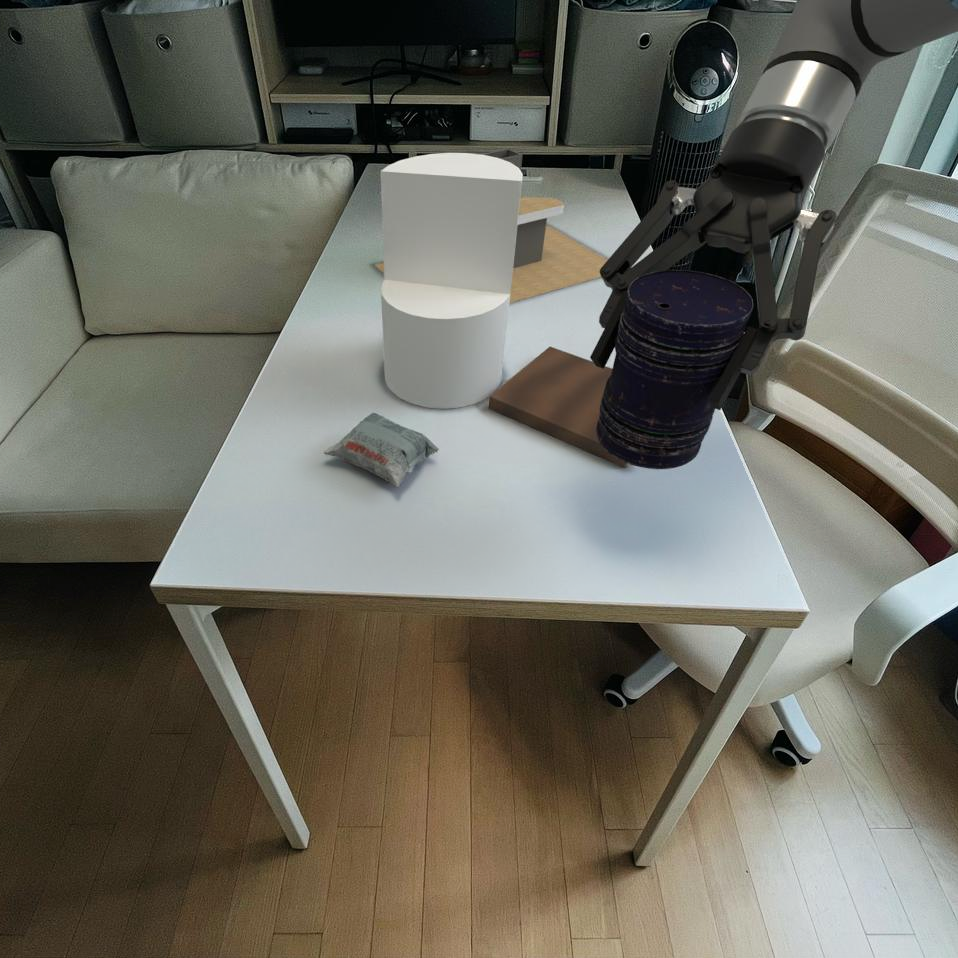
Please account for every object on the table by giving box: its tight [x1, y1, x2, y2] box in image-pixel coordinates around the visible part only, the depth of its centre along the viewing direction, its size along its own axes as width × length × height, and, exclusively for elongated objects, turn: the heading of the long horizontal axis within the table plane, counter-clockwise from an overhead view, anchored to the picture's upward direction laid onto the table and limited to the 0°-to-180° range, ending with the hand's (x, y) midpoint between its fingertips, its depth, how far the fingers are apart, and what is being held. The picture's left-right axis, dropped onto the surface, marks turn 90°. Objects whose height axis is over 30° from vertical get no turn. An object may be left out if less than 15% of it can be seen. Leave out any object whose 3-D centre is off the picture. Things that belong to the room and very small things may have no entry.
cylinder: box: [380, 152, 524, 410], centre depth 88 cm, size 17×17×28 cm
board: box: [487, 346, 630, 469], centre depth 89 cm, size 20×16×2 cm
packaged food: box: [323, 412, 440, 488], centre depth 82 cm, size 9×12×5 cm
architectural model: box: [374, 148, 609, 304], centre depth 115 cm, size 38×25×20 cm, turn 114°
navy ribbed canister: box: [596, 269, 755, 470], centre depth 59 cm, size 10×10×15 cm
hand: (653, 383), depth 58 cm, fingers closed on navy ribbed canister, 10 cm apart
